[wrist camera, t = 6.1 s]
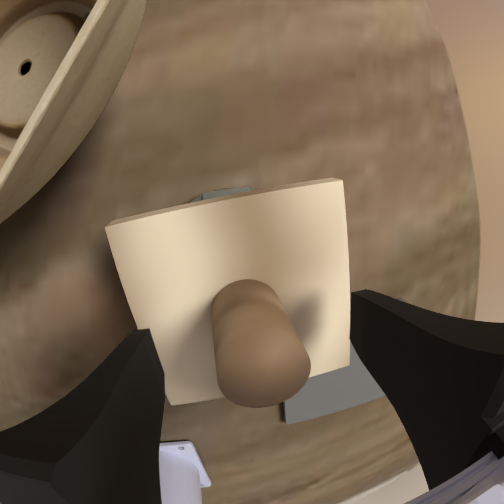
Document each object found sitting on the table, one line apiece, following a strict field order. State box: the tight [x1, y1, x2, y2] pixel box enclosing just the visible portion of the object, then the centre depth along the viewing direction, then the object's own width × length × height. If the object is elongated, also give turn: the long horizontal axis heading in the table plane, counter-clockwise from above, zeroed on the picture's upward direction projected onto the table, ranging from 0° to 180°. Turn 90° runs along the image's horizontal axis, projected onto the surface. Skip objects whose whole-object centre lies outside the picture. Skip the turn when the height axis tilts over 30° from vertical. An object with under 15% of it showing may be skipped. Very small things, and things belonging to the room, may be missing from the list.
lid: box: [105, 178, 350, 408], centre depth 11 cm, size 9×9×5 cm
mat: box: [283, 298, 406, 425], centre depth 20 cm, size 9×9×1 cm
